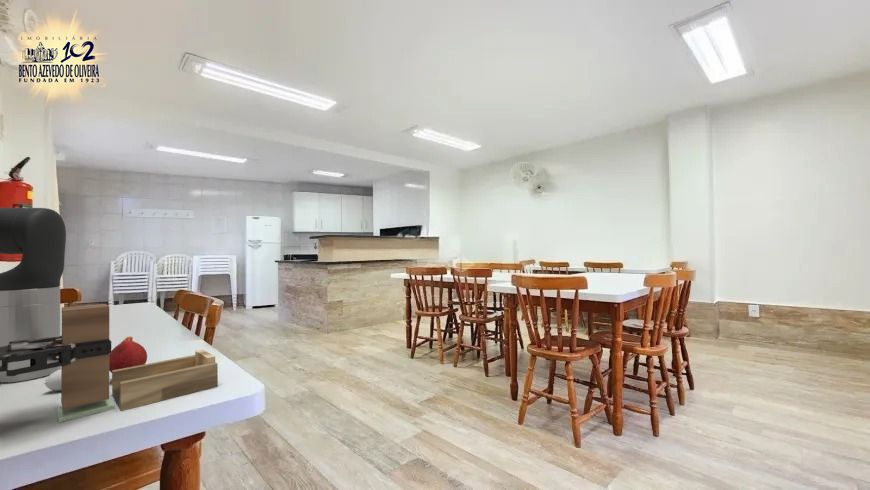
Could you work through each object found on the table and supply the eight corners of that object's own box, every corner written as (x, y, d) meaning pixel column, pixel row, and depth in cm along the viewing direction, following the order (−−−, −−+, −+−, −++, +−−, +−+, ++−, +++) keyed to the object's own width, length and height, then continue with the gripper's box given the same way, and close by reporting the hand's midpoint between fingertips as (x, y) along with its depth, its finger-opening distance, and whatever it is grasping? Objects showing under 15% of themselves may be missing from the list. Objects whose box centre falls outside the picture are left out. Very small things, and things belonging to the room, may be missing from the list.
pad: (57, 410, 56) (57, 407, 56) (109, 398, 60) (109, 395, 60) (58, 422, 52) (58, 418, 52) (114, 408, 56) (114, 405, 56)
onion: (124, 385, 66) (123, 340, 66) (98, 384, 67) (98, 340, 68) (154, 374, 72) (154, 333, 72) (130, 373, 73) (130, 332, 73)
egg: (93, 385, 67) (93, 364, 67) (47, 397, 62) (47, 374, 62) (85, 382, 69) (85, 361, 69) (39, 393, 64) (39, 371, 64)
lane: (217, 386, 65) (217, 357, 65) (120, 410, 55) (120, 377, 55) (200, 374, 72) (200, 348, 72) (112, 394, 62) (111, 364, 62)
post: (61, 400, 56) (61, 307, 56) (105, 391, 60) (105, 303, 60) (62, 409, 53) (63, 310, 53) (109, 398, 56) (109, 306, 57)
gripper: (-87, 347, 41) (115, 324, 53) (-62, 331, 51) (103, 314, 63) (-88, 416, 41) (115, 377, 53) (-63, 386, 51) (103, 359, 63)
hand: (108, 343), depth 58 cm, fingers closed on post, 5 cm apart
